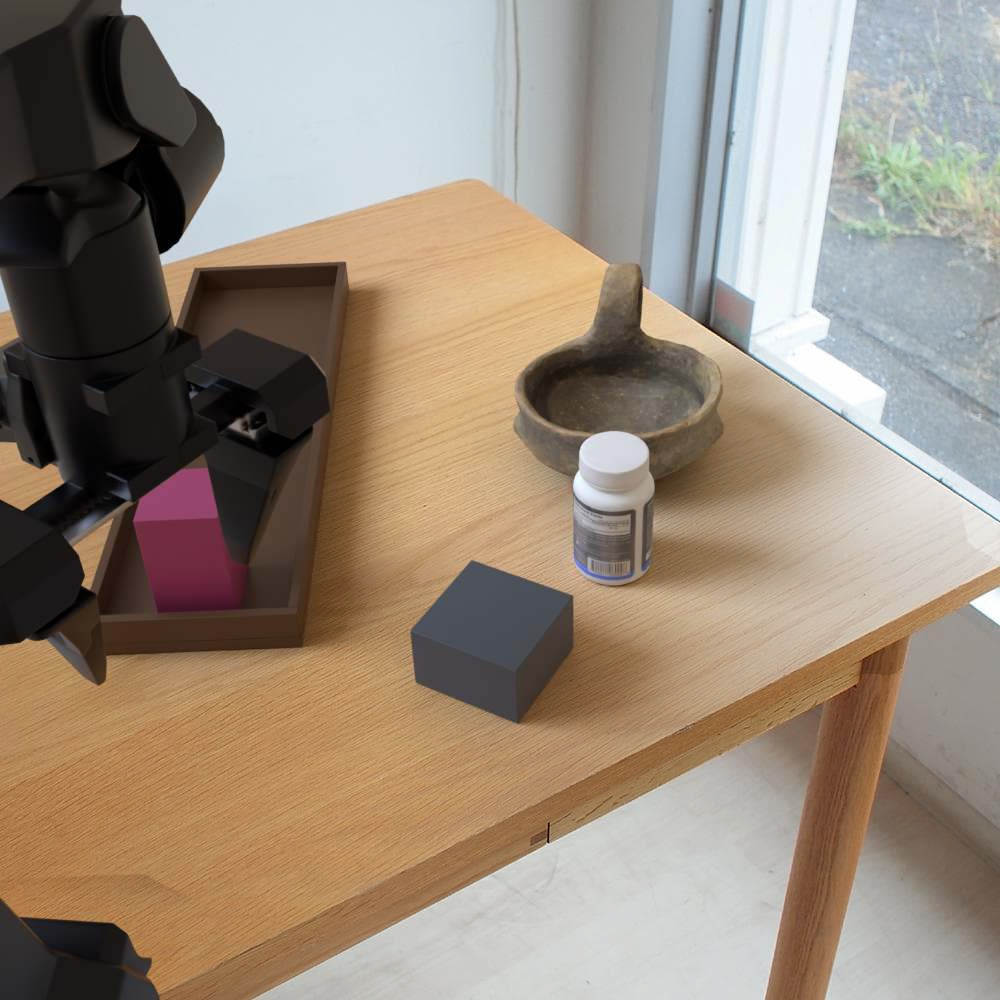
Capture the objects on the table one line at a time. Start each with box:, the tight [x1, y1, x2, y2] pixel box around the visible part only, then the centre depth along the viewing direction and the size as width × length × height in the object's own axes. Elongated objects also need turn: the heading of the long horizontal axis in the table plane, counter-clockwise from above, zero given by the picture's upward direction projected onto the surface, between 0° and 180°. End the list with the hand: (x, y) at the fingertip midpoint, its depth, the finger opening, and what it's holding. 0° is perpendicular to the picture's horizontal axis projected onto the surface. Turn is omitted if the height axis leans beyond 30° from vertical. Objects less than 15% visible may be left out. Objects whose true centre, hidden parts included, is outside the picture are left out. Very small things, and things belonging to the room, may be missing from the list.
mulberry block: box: [133, 468, 249, 613], centre depth 76 cm, size 5×5×8 cm
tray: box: [89, 261, 350, 655], centre depth 91 cm, size 41×12×3 cm, turn 1°
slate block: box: [409, 559, 574, 724], centre depth 73 cm, size 6×6×4 cm
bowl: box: [512, 262, 725, 481], centre depth 87 cm, size 14×18×10 cm
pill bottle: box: [572, 431, 656, 586], centre depth 78 cm, size 5×5×8 cm
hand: (171, 617), depth 60 cm, fingers open, 9 cm apart
